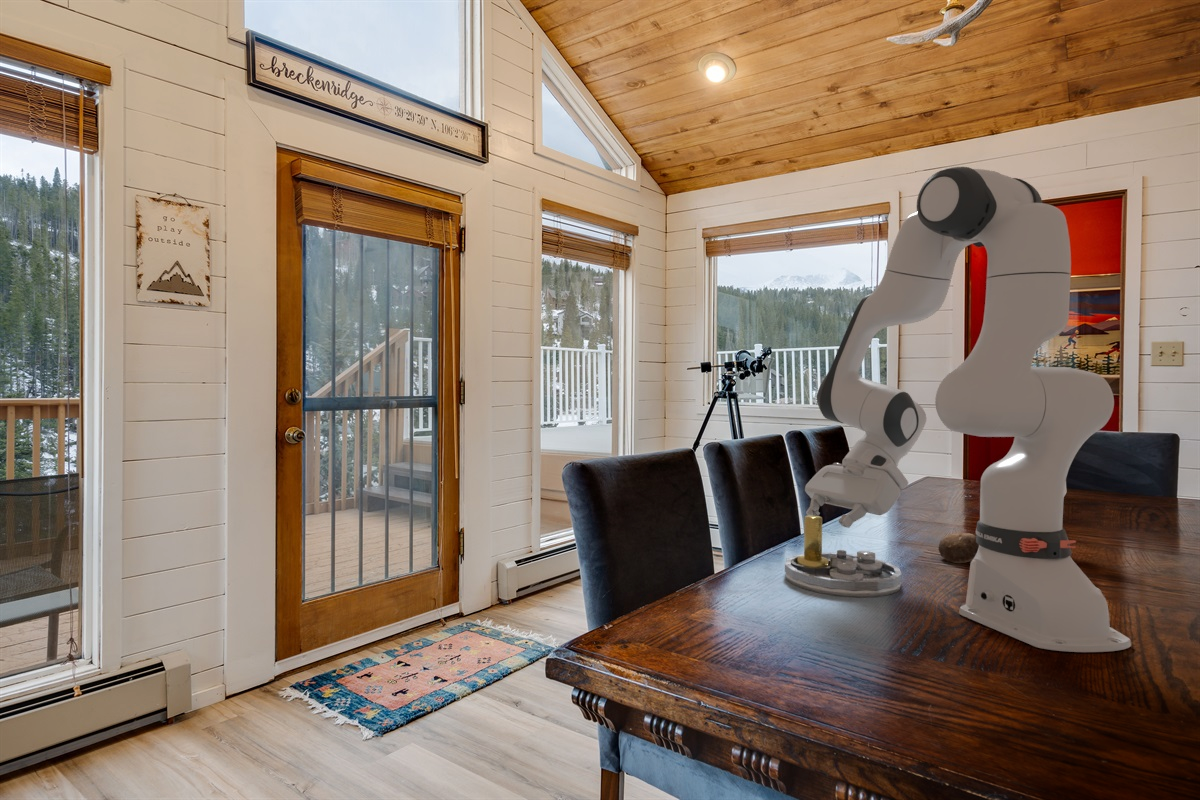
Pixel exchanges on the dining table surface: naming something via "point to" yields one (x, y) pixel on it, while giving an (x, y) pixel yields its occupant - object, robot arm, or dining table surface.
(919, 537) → the dining table surface
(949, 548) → the brown rounded lump
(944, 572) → the dining table surface
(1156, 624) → the dining table surface
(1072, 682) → the dining table surface
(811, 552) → the yellow peg
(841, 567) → the carrier
